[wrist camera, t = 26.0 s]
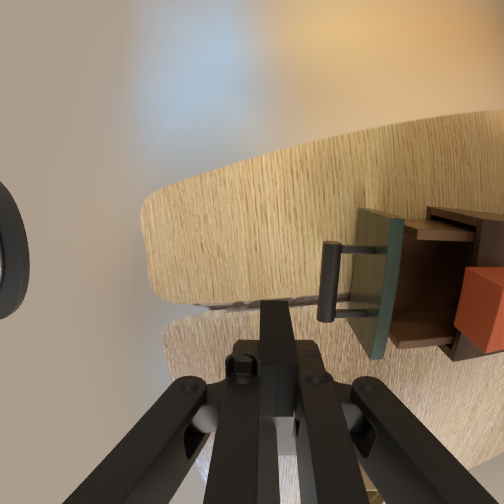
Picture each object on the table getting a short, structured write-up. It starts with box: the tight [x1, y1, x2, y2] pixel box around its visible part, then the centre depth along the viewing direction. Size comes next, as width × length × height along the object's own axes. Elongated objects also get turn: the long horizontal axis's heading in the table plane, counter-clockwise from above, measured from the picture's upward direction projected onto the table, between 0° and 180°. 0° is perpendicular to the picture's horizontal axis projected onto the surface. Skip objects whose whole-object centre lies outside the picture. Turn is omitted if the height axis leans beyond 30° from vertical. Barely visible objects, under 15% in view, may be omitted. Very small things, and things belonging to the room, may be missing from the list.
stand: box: [257, 413, 297, 504], centre depth 28 cm, size 9×9×14 cm
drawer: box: [317, 208, 476, 360], centre depth 25 cm, size 18×11×8 cm, turn 89°
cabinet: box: [426, 206, 504, 362], centre depth 25 cm, size 15×13×10 cm
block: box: [454, 267, 504, 353], centre depth 18 cm, size 5×5×5 cm
